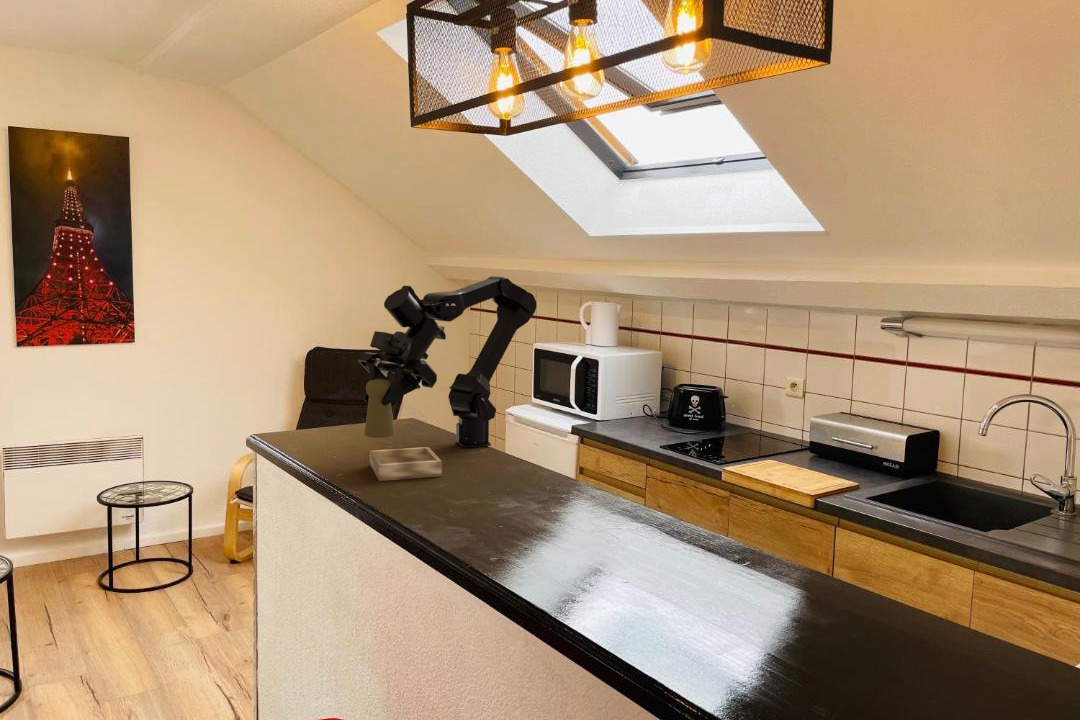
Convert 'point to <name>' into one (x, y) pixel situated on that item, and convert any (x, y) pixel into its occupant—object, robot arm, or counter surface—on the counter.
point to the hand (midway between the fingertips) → (374, 402)
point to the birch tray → (405, 463)
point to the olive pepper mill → (378, 410)
